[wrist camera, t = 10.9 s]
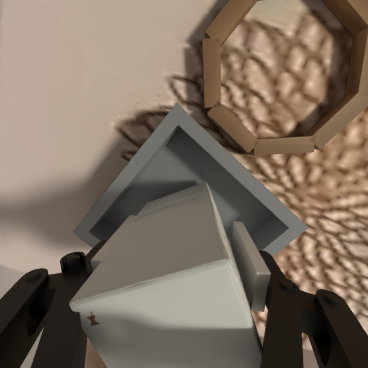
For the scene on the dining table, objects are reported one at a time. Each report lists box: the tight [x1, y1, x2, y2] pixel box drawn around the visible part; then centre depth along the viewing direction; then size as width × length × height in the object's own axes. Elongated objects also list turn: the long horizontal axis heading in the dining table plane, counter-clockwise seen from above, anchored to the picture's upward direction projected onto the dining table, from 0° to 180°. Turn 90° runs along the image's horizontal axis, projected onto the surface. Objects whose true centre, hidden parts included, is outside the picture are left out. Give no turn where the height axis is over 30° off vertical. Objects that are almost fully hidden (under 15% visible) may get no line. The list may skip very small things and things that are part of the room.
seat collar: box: [202, 0, 368, 155], centre depth 16 cm, size 15×15×2 cm
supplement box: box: [69, 182, 263, 368], centre depth 14 cm, size 7×7×13 cm
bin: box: [73, 103, 308, 282], centre depth 19 cm, size 16×16×4 cm
